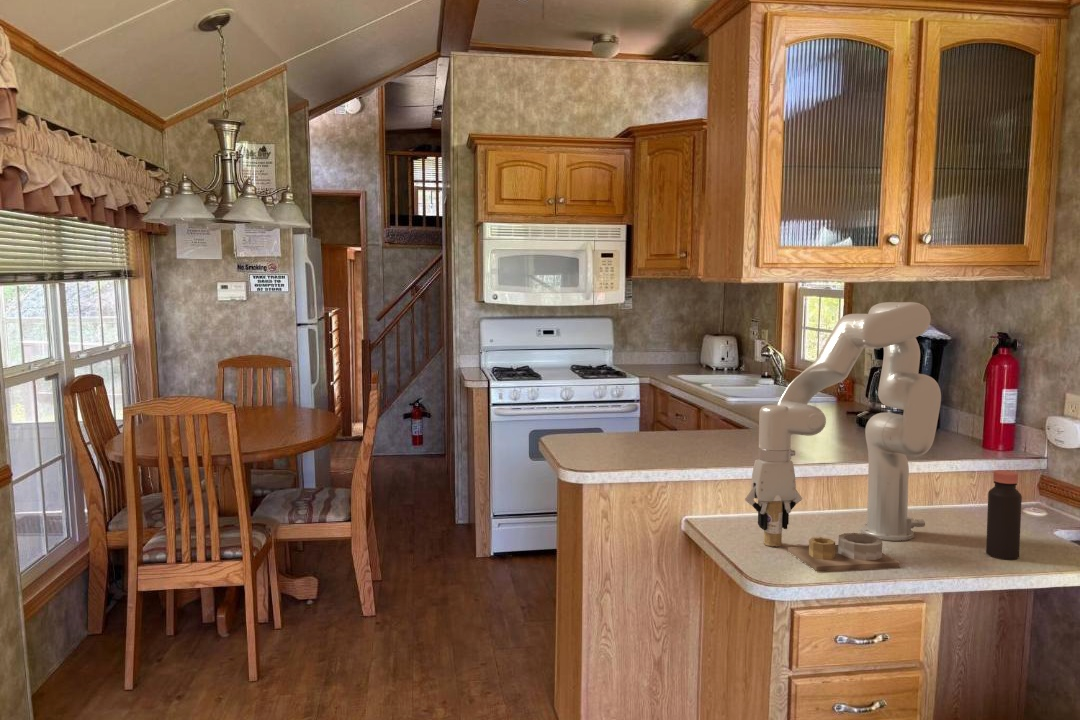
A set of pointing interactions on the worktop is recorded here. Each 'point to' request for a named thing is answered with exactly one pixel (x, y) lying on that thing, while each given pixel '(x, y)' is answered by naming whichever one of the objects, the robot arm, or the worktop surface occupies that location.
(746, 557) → the worktop surface
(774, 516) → the sprinkles bottle
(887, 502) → the robot arm
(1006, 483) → the brown bottle
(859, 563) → the fitting board
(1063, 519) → the worktop surface
